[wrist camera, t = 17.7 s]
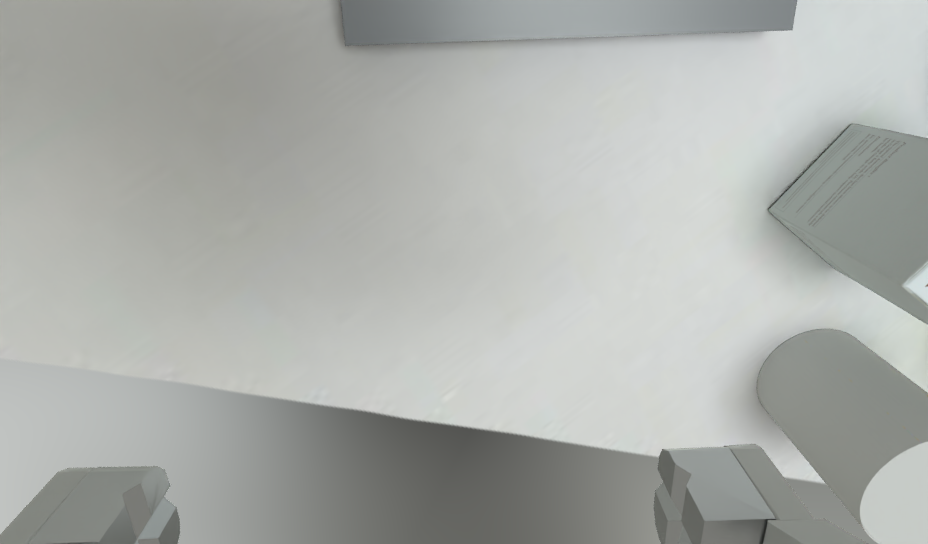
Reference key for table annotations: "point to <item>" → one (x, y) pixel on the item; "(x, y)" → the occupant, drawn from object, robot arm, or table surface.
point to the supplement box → (868, 212)
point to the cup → (854, 428)
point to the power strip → (553, 19)
